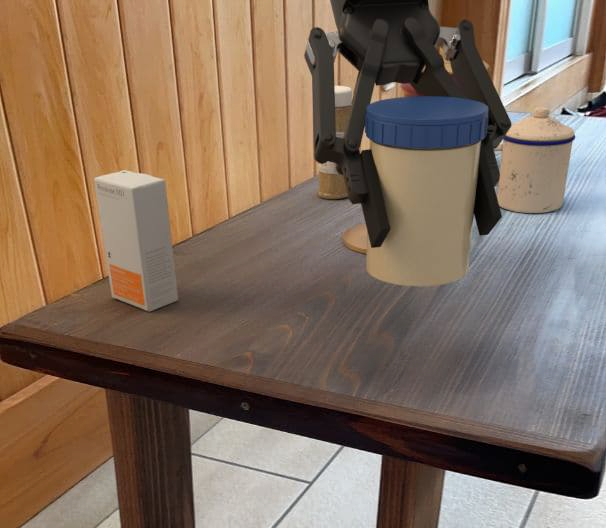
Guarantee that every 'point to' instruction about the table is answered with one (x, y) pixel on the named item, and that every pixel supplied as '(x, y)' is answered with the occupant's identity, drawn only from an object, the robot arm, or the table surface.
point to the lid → (426, 122)
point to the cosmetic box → (137, 238)
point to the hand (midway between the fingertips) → (436, 232)
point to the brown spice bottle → (328, 176)
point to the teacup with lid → (534, 164)
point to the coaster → (356, 238)
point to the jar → (425, 213)
